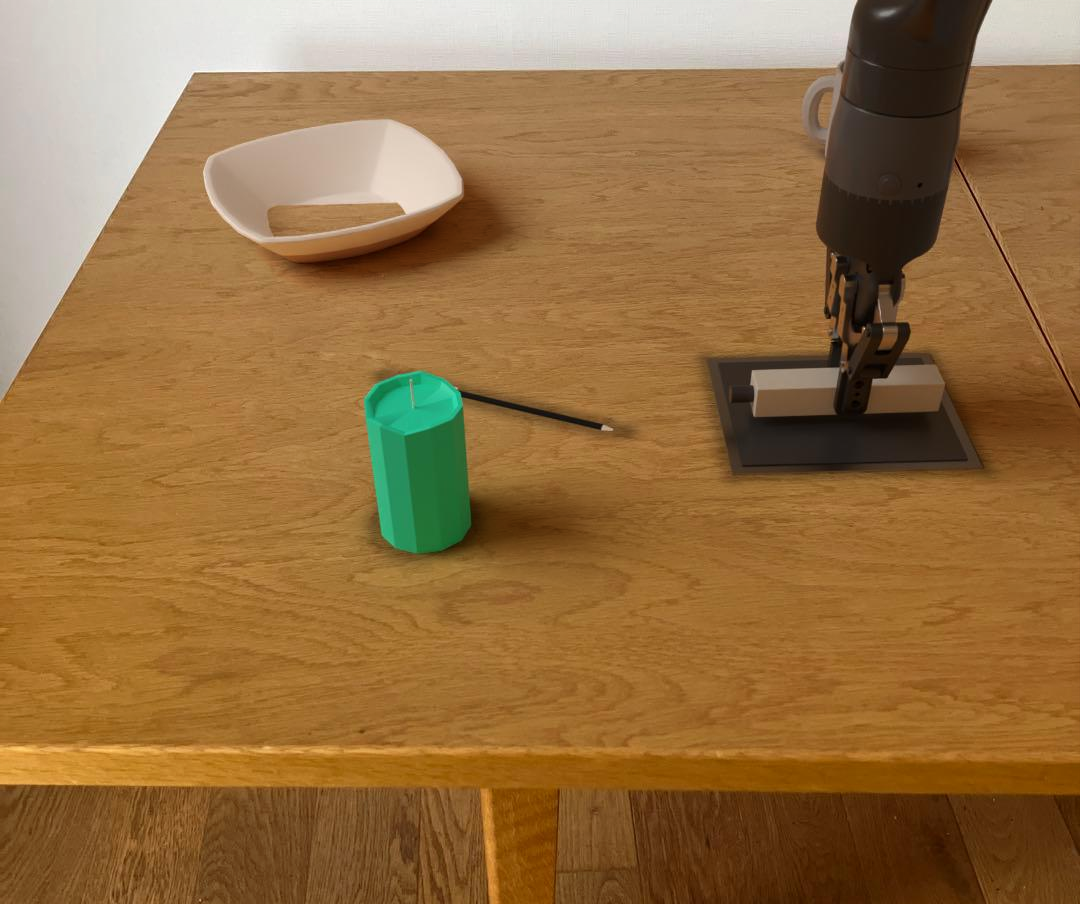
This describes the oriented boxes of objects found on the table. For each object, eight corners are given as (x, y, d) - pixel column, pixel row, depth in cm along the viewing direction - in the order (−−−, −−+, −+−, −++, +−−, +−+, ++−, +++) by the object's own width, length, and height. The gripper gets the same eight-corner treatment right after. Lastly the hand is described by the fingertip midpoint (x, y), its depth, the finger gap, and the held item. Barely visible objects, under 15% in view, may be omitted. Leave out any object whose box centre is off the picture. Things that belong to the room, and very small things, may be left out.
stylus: (929, 391, 86) (936, 363, 84) (938, 411, 84) (945, 383, 82) (726, 398, 86) (729, 370, 84) (731, 418, 84) (734, 390, 82)
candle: (390, 500, 81) (371, 349, 73) (478, 504, 80) (468, 353, 72) (372, 560, 76) (349, 407, 68) (465, 566, 76) (453, 412, 68)
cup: (893, 181, 115) (910, 88, 109) (789, 167, 117) (801, 76, 111) (902, 150, 120) (919, 60, 114) (802, 137, 122) (814, 49, 116)
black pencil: (390, 381, 91) (388, 368, 90) (627, 437, 85) (627, 424, 85) (384, 387, 90) (383, 375, 90) (623, 444, 85) (623, 431, 84)
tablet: (926, 363, 92) (929, 351, 91) (979, 478, 82) (983, 466, 81) (705, 369, 92) (706, 356, 91) (730, 485, 81) (732, 472, 81)
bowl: (408, 159, 120) (403, 107, 116) (495, 254, 105) (492, 198, 102) (194, 205, 113) (182, 151, 110) (255, 313, 99) (244, 256, 95)
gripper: (983, 219, 68) (923, 459, 79) (919, 118, 78) (874, 343, 90) (851, 223, 68) (810, 462, 79) (804, 121, 78) (774, 347, 90)
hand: (844, 398), depth 85 cm, fingers closed on stylus, 2 cm apart
